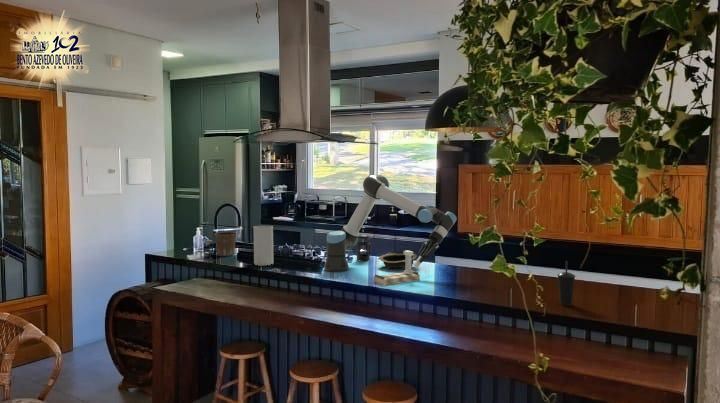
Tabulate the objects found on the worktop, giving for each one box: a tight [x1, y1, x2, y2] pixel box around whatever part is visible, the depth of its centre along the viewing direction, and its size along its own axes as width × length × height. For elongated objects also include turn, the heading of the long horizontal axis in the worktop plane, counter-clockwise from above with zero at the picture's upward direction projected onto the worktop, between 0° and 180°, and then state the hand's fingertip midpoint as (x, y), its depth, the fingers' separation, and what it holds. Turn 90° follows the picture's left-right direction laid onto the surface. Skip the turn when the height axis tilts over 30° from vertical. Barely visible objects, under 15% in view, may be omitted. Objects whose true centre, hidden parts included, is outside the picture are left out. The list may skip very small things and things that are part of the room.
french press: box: [356, 226, 371, 262], centre depth 348 cm, size 12×9×23 cm
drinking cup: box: [556, 260, 576, 307], centre depth 230 cm, size 8×8×20 cm
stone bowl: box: [377, 250, 418, 270], centre depth 322 cm, size 25×25×9 cm
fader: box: [403, 249, 414, 274], centre depth 286 cm, size 3×5×13 cm, turn 32°
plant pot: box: [213, 231, 238, 257], centre depth 372 cm, size 16×16×16 cm
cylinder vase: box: [252, 225, 274, 267], centre depth 335 cm, size 12×12×25 cm
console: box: [373, 269, 421, 286], centre depth 282 cm, size 24×10×4 cm, turn 121°
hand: (415, 266), depth 288 cm, fingers closed
